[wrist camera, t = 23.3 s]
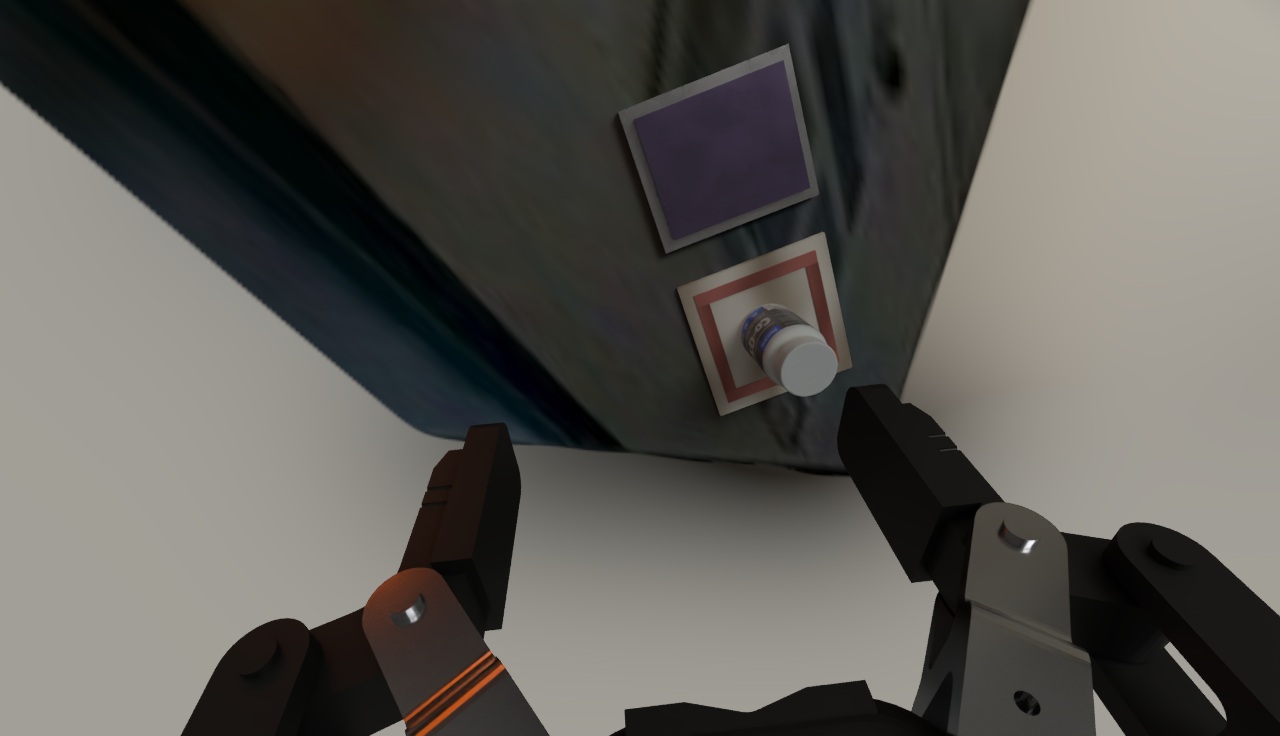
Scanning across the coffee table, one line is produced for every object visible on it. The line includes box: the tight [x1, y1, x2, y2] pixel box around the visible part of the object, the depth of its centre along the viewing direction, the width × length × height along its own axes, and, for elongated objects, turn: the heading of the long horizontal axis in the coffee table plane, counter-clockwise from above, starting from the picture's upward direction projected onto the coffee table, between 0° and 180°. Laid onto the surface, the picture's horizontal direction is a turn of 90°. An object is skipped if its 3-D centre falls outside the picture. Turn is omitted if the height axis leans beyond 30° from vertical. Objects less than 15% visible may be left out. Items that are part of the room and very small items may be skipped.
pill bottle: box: [740, 304, 838, 396], centre depth 37 cm, size 5×5×8 cm
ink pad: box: [617, 44, 819, 253], centre depth 36 cm, size 12×10×2 cm
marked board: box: [677, 232, 852, 416], centre depth 42 cm, size 12×12×1 cm
